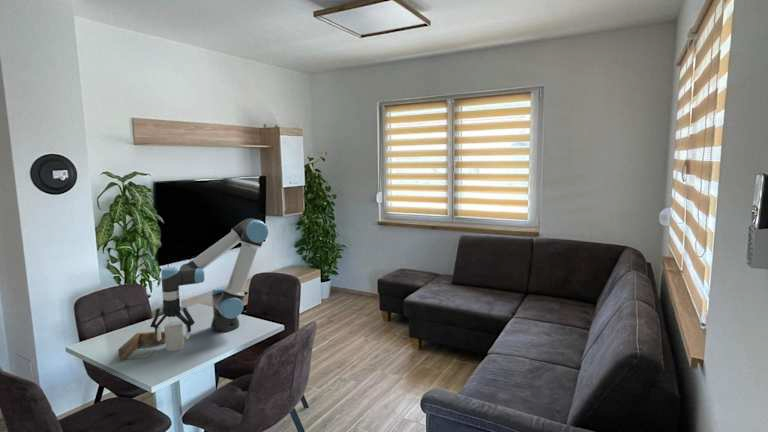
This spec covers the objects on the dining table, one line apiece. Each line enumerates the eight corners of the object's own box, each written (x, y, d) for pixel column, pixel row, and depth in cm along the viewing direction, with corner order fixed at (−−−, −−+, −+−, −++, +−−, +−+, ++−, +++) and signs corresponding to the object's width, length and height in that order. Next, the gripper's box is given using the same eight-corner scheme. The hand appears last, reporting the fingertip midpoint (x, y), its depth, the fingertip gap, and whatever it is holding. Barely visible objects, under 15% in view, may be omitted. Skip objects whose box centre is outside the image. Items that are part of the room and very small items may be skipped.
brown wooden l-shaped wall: (166, 342, 221) (165, 331, 220) (150, 359, 201) (149, 347, 200) (138, 343, 219) (137, 332, 218) (119, 361, 199) (118, 349, 199)
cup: (176, 351, 209) (175, 328, 208) (162, 350, 211) (160, 327, 209) (187, 344, 217) (185, 322, 216) (173, 343, 219) (171, 321, 217)
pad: (157, 349, 212) (157, 348, 212) (148, 357, 202) (148, 357, 202) (136, 350, 211) (135, 350, 211) (126, 359, 201) (126, 358, 201)
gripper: (199, 295, 216) (201, 335, 218) (147, 297, 213) (150, 337, 215) (195, 299, 209) (197, 340, 211) (141, 301, 206) (144, 343, 208)
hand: (173, 339), depth 213 cm, fingers open, 13 cm apart
